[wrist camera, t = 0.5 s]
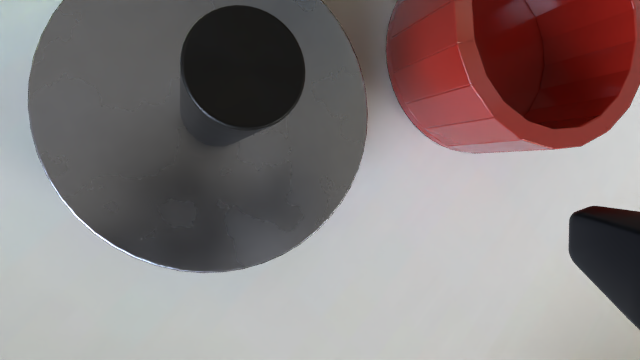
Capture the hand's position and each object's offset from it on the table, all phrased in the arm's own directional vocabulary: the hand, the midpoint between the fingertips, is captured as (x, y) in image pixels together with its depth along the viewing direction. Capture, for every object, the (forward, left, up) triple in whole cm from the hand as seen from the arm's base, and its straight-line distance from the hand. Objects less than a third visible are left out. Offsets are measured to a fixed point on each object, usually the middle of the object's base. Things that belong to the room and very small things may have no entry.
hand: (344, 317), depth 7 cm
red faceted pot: (+3, -16, -14) cm, 21 cm away
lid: (+5, -1, -11) cm, 12 cm away
